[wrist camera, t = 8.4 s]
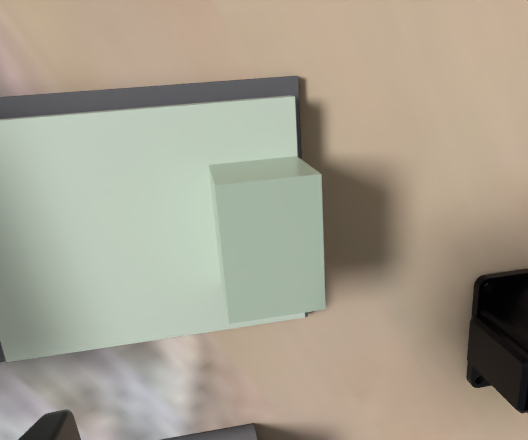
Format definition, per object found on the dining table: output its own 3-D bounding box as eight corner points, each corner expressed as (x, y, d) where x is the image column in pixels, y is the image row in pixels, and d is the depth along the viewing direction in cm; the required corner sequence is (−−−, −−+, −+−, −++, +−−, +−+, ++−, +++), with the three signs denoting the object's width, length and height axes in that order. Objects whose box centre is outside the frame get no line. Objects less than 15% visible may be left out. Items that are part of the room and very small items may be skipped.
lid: (288, 95, 19) (321, 101, 15) (298, 305, 22) (328, 363, 18) (-45, 121, 17) (-123, 139, 13) (16, 346, 20) (-31, 423, 16)
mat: (295, 75, 19) (298, 75, 19) (305, 312, 23) (307, 316, 22) (-74, 102, 17) (-79, 103, 17) (-1, 357, 21) (-5, 362, 20)
